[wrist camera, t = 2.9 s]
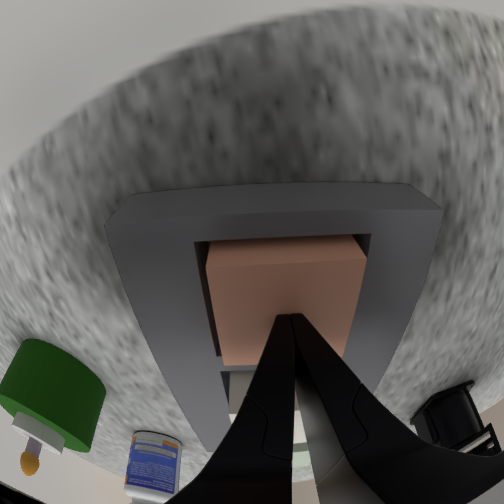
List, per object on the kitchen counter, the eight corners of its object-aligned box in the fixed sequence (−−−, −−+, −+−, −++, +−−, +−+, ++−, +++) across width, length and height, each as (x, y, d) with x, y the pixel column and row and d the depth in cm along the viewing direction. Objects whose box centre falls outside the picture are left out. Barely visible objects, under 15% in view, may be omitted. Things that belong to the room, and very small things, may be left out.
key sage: (312, 417, 15) (317, 449, 13) (305, 439, 18) (308, 466, 16) (241, 422, 16) (241, 455, 13) (245, 443, 18) (246, 470, 16)
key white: (329, 361, 12) (339, 404, 10) (316, 405, 14) (322, 440, 12) (230, 368, 12) (228, 414, 10) (238, 410, 15) (238, 446, 12)
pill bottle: (124, 427, 22) (109, 508, 14) (171, 432, 22) (161, 521, 14) (147, 445, 25) (137, 516, 17) (190, 449, 25) (184, 524, 16)
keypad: (409, 184, 10) (444, 210, 8) (336, 417, 20) (341, 442, 18) (132, 194, 10) (103, 224, 8) (208, 425, 20) (207, 451, 18)
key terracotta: (343, 222, 10) (367, 258, 8) (329, 315, 12) (342, 356, 10) (213, 228, 10) (205, 267, 8) (226, 321, 12) (224, 365, 10)
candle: (25, 321, 14) (-32, 436, 6) (119, 382, 17) (90, 504, 9) (19, 362, 17) (-17, 447, 9) (92, 407, 20) (70, 496, 12)
